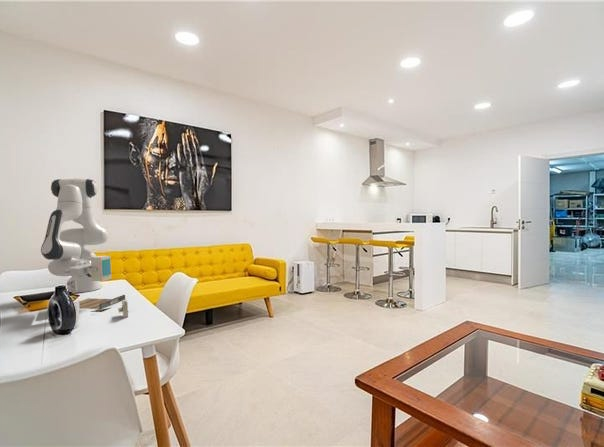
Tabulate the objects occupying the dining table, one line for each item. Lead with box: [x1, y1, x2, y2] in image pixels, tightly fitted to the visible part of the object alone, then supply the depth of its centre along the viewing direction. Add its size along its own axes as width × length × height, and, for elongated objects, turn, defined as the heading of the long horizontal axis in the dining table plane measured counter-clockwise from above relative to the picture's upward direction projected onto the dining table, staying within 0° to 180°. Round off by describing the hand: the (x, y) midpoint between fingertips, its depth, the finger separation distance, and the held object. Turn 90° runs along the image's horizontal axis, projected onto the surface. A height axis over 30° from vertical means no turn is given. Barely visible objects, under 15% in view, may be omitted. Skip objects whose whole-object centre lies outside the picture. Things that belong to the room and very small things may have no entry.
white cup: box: [72, 301, 80, 330], centre depth 133 cm, size 8×8×10 cm
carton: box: [91, 255, 112, 282], centre depth 161 cm, size 6×6×12 cm
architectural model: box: [117, 299, 129, 319], centre depth 146 cm, size 3×7×7 cm, turn 34°
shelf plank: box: [78, 294, 126, 313], centre depth 163 cm, size 23×16×4 cm
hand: (102, 268), depth 161 cm, fingers closed on carton, 6 cm apart
